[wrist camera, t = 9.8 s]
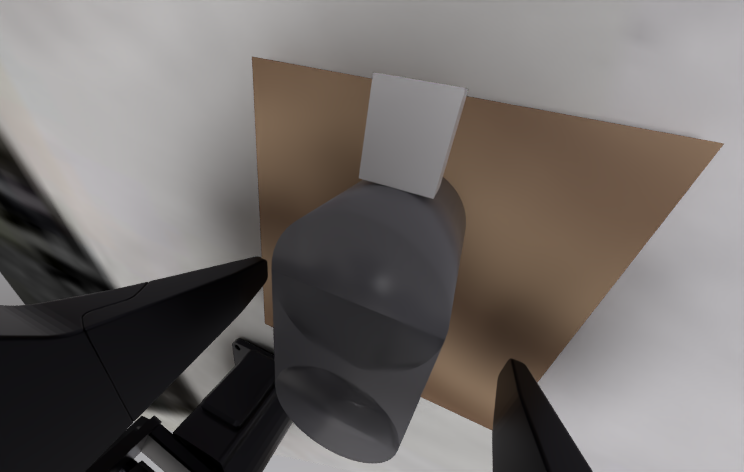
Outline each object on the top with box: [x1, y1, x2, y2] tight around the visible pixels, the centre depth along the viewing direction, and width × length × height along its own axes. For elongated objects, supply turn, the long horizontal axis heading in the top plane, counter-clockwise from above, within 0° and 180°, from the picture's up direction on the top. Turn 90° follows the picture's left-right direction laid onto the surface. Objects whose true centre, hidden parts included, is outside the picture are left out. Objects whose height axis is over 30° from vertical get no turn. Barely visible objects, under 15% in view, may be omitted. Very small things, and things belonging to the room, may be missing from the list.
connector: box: [271, 72, 468, 463], centre depth 9 cm, size 12×4×5 cm, turn 170°
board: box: [252, 57, 723, 430], centre depth 12 cm, size 14×14×1 cm
